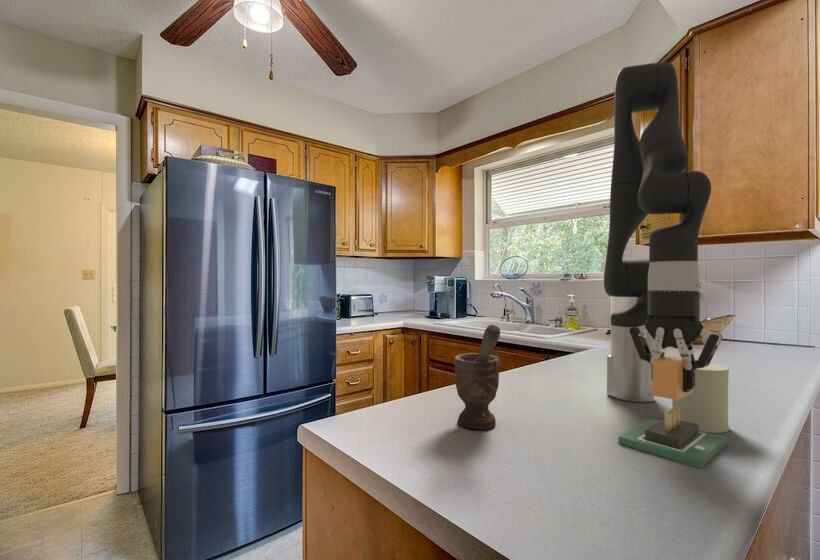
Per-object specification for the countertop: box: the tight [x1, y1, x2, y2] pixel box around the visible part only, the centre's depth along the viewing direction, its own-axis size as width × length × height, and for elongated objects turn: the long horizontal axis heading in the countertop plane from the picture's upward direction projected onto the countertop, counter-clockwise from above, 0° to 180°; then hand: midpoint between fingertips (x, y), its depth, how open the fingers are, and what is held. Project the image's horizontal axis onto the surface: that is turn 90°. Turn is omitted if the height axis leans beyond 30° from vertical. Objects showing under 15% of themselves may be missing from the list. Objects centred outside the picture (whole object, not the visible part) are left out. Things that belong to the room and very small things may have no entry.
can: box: [671, 362, 730, 434], centre depth 79 cm, size 9×9×12 cm
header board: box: [617, 407, 727, 469], centre depth 70 cm, size 12×14×6 cm
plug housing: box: [652, 354, 693, 400], centre depth 70 cm, size 4×8×6 cm, turn 130°
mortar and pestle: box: [454, 324, 501, 431], centre depth 77 cm, size 12×9×20 cm
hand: (673, 388), depth 70 cm, fingers closed on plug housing, 3 cm apart
